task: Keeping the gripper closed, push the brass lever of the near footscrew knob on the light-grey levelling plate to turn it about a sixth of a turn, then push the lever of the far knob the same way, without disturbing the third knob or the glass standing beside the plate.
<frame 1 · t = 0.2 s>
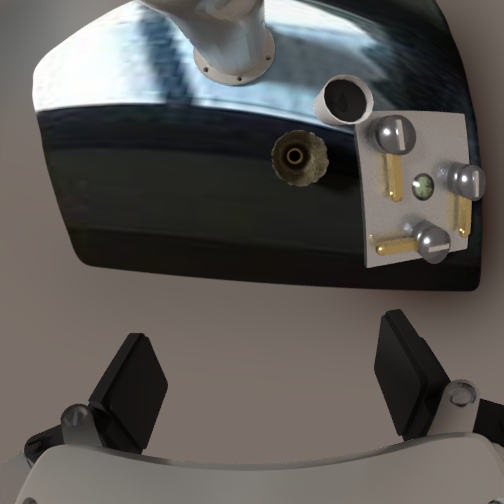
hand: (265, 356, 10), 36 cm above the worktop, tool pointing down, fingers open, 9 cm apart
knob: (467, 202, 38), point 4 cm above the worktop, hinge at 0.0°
levelling plate: (419, 185, 42), on the worktop
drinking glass: (330, 108, 39), on the worktop
cup: (294, 156, 42), on the worktop
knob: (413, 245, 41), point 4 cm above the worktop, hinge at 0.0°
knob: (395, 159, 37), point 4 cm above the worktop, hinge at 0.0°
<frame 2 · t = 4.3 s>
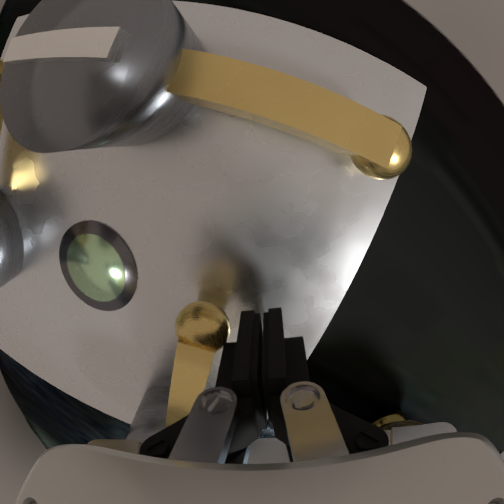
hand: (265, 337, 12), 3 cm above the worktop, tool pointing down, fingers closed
levelling plate: (109, 256, 14), on the worktop
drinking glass: (270, 451, 20), on the worktop
cup: (383, 417, 18), on the worktop
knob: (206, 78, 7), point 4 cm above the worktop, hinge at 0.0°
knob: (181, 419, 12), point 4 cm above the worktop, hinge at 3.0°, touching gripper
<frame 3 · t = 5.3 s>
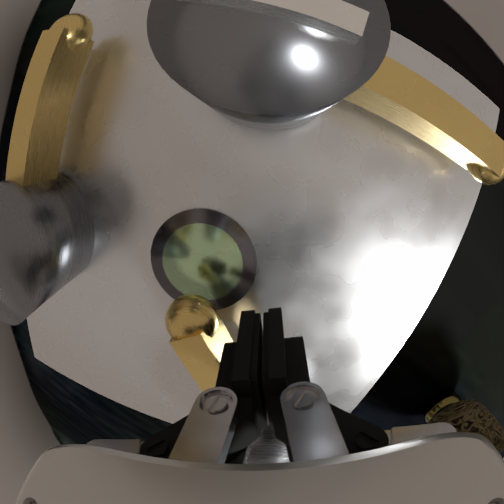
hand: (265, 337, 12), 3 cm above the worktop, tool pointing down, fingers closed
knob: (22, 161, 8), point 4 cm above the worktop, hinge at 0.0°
levelling plate: (208, 250, 14), on the worktop
cup: (438, 401, 18), on the worktop
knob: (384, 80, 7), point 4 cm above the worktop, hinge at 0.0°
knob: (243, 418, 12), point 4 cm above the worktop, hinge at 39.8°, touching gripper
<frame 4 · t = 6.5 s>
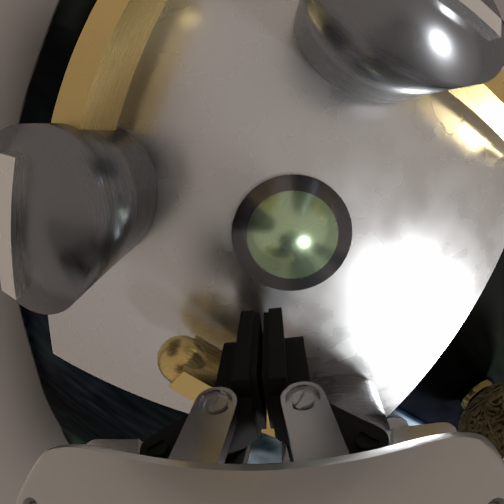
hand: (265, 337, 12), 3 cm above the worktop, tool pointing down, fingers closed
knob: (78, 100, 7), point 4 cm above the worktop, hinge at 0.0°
levelling plate: (289, 225, 12), on the worktop
cup: (472, 386, 17), on the worktop
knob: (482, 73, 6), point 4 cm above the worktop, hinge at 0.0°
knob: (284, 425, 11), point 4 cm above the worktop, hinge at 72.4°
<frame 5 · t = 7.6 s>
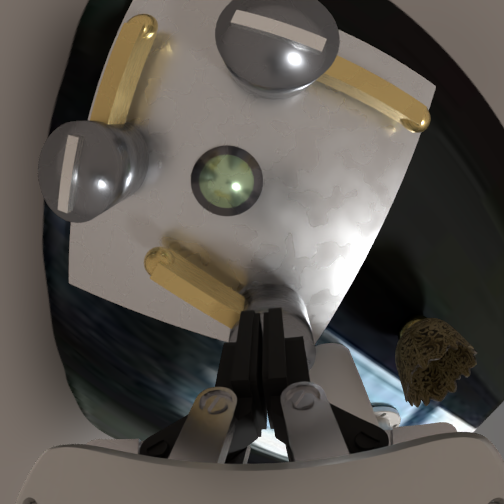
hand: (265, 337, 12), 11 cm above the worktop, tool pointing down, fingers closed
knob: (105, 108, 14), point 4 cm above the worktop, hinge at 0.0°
levelling plate: (228, 177, 20), on the worktop
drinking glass: (324, 361, 27), on the worktop
cup: (410, 324, 25), on the worktop
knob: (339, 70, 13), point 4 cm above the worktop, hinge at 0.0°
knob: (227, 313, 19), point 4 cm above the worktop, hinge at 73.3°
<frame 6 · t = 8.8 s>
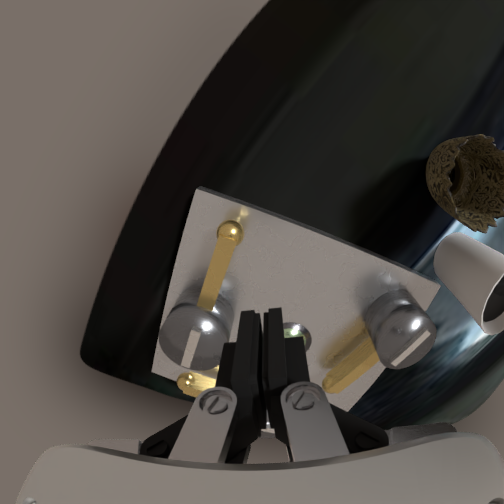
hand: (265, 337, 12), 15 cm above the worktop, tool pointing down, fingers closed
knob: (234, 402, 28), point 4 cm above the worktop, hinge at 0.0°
levelling plate: (287, 332, 29), on the worktop
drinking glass: (452, 256, 25), on the worktop
cup: (434, 170, 22), on the worktop
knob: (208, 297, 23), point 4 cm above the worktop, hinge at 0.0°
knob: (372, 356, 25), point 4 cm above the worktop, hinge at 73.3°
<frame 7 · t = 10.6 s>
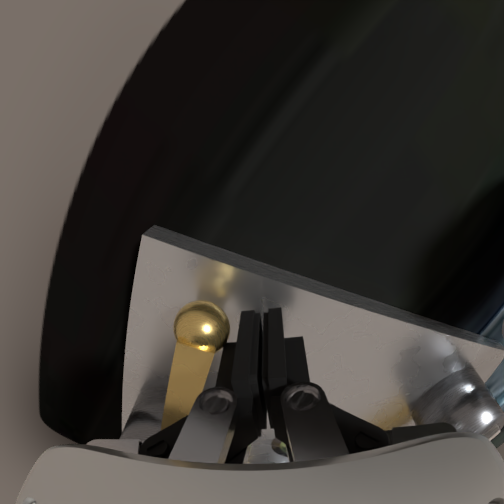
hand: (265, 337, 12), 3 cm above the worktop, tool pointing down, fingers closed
levelling plate: (303, 427, 18), on the worktop
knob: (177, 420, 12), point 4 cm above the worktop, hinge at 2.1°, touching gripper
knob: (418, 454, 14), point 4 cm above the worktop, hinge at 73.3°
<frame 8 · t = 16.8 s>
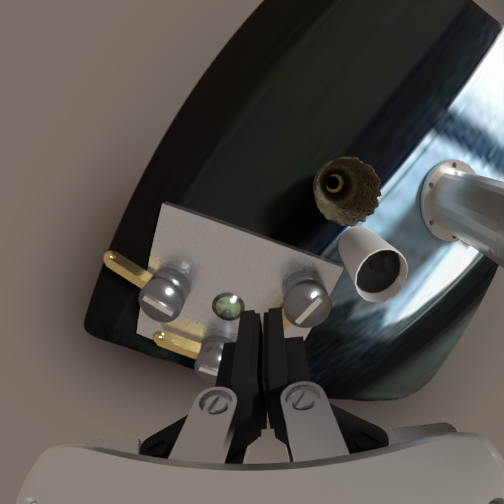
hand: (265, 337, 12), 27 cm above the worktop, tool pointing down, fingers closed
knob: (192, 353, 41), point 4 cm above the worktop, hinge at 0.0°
levelling plate: (229, 301, 42), on the worktop
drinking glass: (356, 245, 38), on the worktop
cup: (332, 182, 35), on the worktop
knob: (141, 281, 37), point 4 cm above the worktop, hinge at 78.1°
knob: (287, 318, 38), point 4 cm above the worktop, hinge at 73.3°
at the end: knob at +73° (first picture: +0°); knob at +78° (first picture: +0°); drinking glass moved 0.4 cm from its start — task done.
